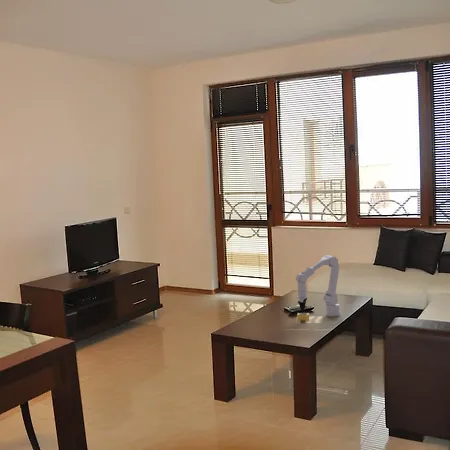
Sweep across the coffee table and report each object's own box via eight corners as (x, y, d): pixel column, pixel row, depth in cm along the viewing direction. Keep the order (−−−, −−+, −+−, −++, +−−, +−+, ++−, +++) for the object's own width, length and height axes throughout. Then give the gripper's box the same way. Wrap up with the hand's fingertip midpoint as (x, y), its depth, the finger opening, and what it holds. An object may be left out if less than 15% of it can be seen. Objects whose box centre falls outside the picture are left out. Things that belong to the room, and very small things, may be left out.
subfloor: (322, 317, 395) (322, 315, 394) (321, 325, 376) (321, 323, 376) (297, 317, 399) (297, 315, 398) (295, 324, 380) (295, 323, 380)
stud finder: (309, 318, 389) (309, 312, 389) (308, 320, 385) (308, 314, 385) (298, 318, 391) (297, 312, 391) (297, 320, 387) (297, 314, 386)
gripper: (297, 288, 394) (298, 306, 395) (295, 293, 380) (296, 312, 381) (307, 288, 392) (308, 306, 394) (305, 293, 378) (306, 312, 380)
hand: (303, 309), depth 387 cm, fingers open, 7 cm apart
